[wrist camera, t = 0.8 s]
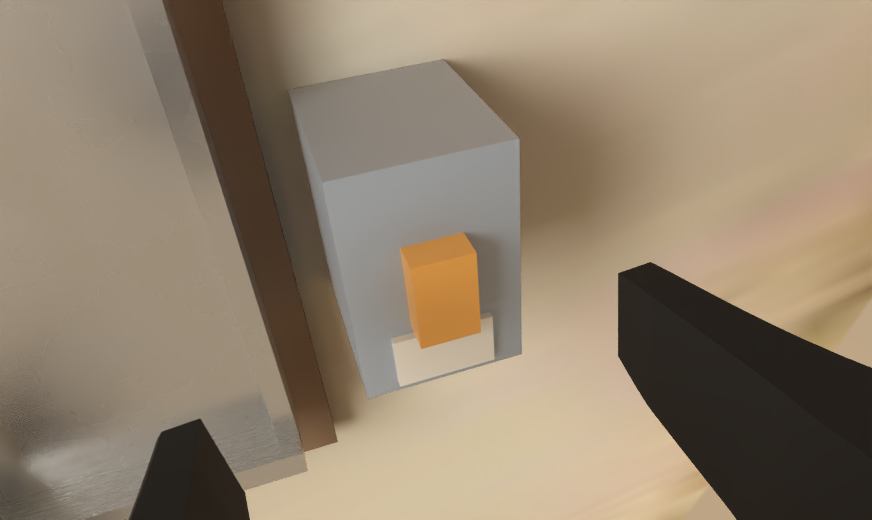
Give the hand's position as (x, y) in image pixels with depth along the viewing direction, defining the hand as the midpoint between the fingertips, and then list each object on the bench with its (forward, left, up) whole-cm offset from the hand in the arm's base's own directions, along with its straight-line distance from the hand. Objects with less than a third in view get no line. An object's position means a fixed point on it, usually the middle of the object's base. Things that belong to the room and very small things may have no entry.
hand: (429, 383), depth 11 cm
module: (-1, +1, -9) cm, 9 cm away
